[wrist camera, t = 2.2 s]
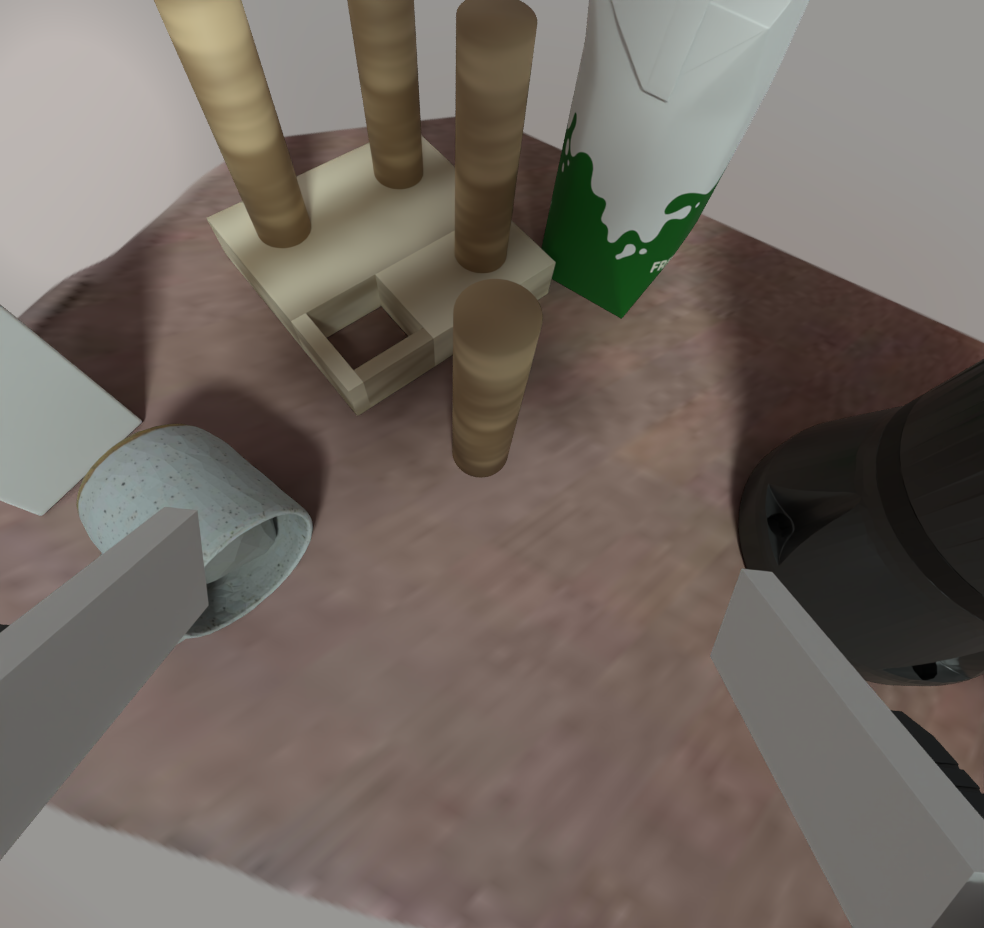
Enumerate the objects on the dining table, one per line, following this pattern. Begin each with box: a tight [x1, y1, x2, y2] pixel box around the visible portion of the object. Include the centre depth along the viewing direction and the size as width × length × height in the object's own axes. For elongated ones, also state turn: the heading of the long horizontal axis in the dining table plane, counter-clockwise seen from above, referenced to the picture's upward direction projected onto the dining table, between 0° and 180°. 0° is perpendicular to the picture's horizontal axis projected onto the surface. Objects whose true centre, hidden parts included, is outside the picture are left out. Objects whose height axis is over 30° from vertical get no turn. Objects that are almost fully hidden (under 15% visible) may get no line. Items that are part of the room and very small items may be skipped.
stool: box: [154, 0, 556, 416], centre depth 29 cm, size 16×16×16 cm
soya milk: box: [542, 0, 809, 319], centre depth 29 cm, size 9×9×20 cm
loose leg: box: [452, 279, 543, 477], centre depth 25 cm, size 3×3×13 cm
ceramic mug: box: [77, 424, 313, 644], centre depth 24 cm, size 11×8×8 cm
